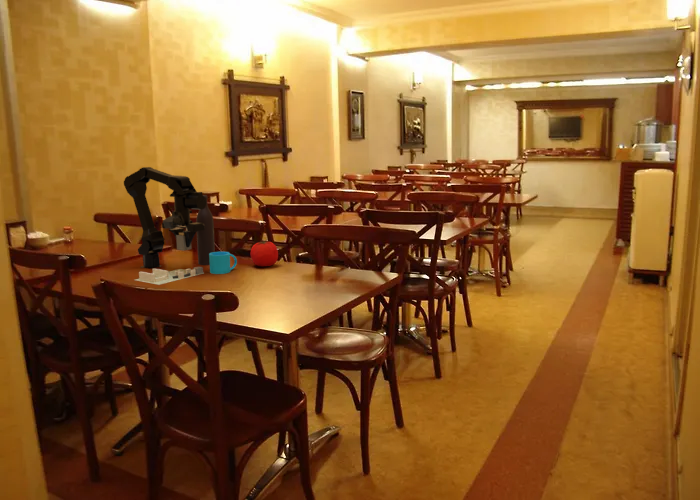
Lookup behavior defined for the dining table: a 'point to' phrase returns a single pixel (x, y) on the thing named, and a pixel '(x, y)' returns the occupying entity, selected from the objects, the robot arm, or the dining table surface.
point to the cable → (184, 276)
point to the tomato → (264, 253)
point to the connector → (182, 242)
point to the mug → (221, 262)
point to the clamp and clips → (192, 272)
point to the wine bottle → (205, 235)
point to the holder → (154, 275)
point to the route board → (171, 274)
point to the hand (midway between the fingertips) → (184, 246)
